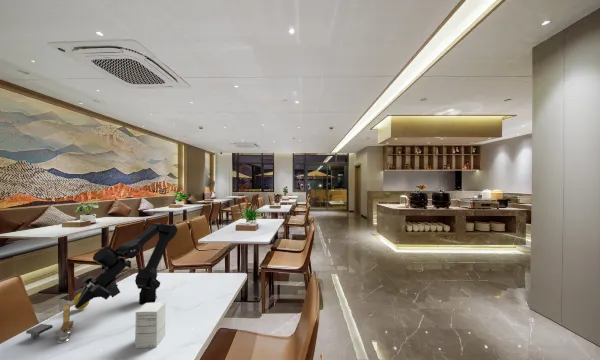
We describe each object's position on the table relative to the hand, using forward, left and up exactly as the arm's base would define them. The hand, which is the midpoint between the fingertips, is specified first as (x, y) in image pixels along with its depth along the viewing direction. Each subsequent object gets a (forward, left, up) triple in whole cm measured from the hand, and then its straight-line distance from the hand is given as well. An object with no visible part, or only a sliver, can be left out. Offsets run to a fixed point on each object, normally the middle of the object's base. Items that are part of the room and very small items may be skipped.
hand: (76, 307), depth 98 cm
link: (+3, 0, -9) cm, 9 cm away
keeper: (+10, +1, -9) cm, 14 cm away
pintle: (+1, +6, -9) cm, 11 cm away
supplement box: (-28, +18, -9) cm, 35 cm away
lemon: (+5, -20, -9) cm, 23 cm away
